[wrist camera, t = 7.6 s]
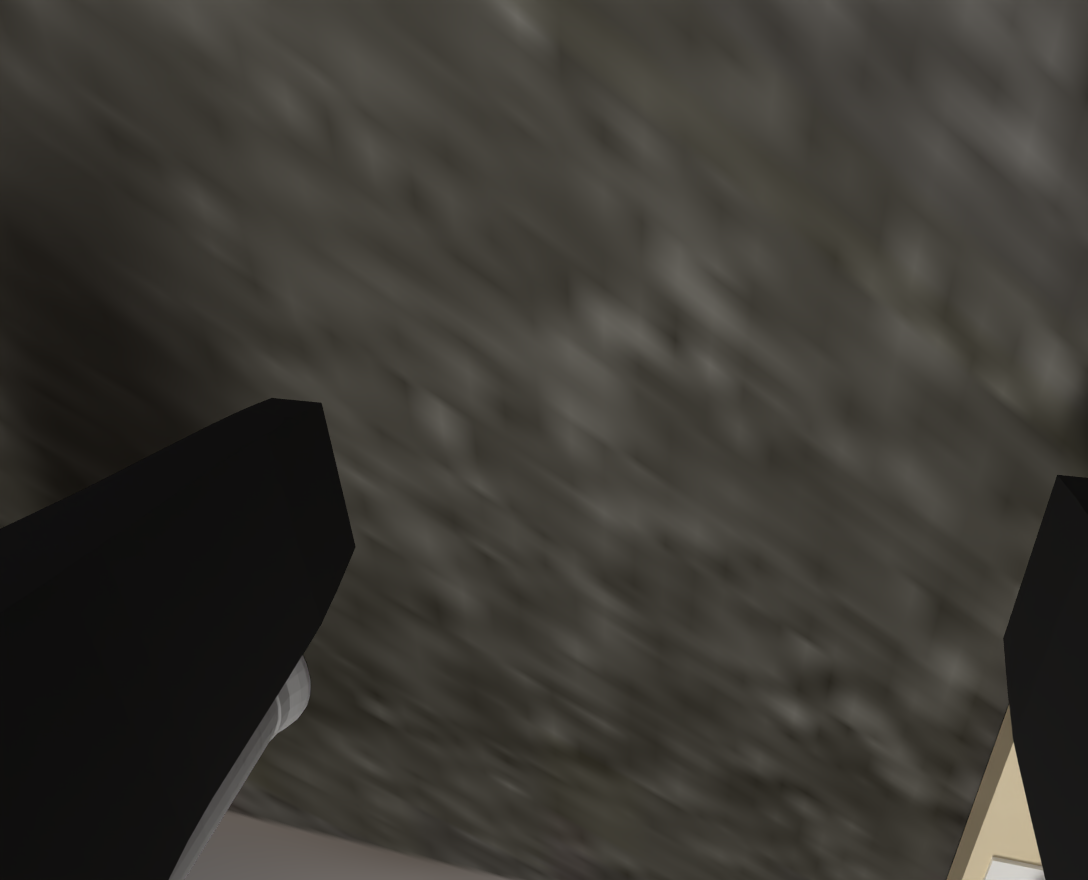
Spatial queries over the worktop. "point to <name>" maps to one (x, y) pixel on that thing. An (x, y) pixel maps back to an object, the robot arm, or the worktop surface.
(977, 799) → the board
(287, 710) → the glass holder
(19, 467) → the worktop surface
